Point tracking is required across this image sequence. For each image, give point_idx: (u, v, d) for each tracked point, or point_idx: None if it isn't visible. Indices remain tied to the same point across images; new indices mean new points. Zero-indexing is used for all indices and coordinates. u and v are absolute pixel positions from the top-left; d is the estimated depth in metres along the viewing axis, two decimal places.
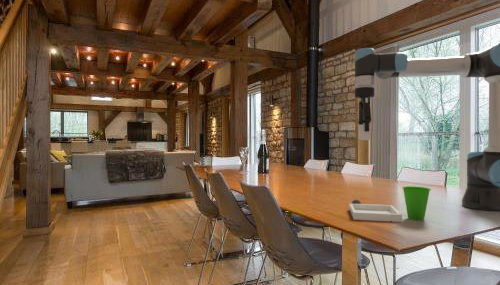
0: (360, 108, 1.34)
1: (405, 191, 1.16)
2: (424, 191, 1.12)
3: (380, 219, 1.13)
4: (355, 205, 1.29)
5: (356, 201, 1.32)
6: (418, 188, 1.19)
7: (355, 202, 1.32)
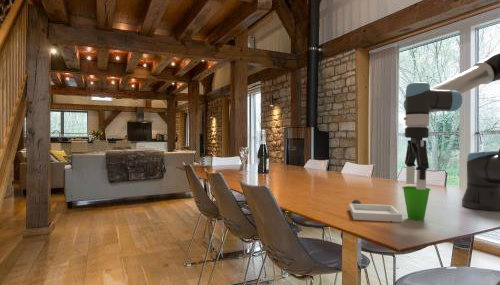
0: (410, 149, 1.18)
1: (405, 191, 1.16)
2: (424, 191, 1.12)
3: (380, 219, 1.13)
4: (355, 205, 1.29)
5: (356, 201, 1.32)
6: None
7: (355, 202, 1.32)
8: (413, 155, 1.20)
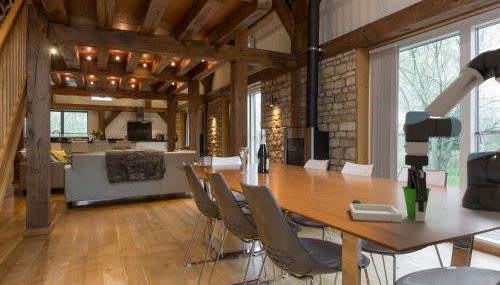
0: (411, 177, 1.18)
1: (405, 191, 1.16)
2: None
3: (380, 219, 1.13)
4: (355, 205, 1.29)
5: (356, 201, 1.32)
6: None
7: (355, 202, 1.32)
8: (414, 183, 1.19)
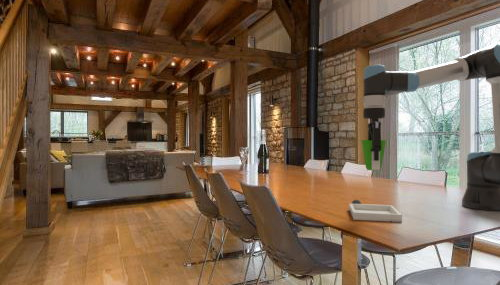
0: (369, 130, 1.23)
1: (363, 143, 1.21)
2: None
3: (380, 219, 1.13)
4: (355, 205, 1.29)
5: (356, 201, 1.32)
6: None
7: (355, 202, 1.32)
8: None
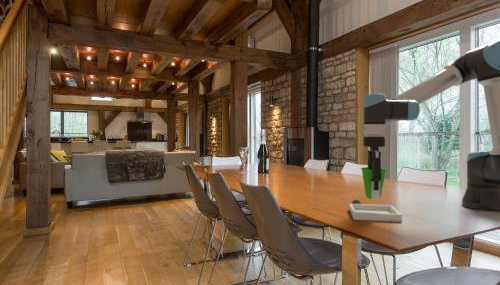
0: (369, 158, 1.23)
1: (363, 171, 1.21)
2: None
3: (380, 219, 1.13)
4: (355, 205, 1.29)
5: (356, 201, 1.32)
6: None
7: (355, 202, 1.32)
8: None
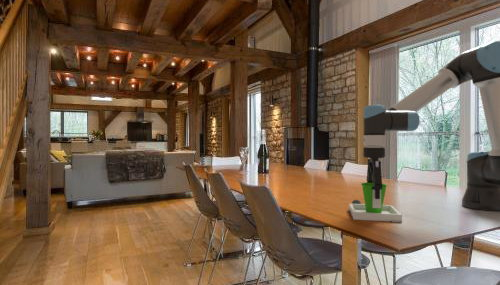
0: (369, 168, 1.23)
1: (363, 187, 1.21)
2: None
3: (380, 219, 1.13)
4: (355, 205, 1.29)
5: (356, 201, 1.32)
6: None
7: (355, 202, 1.32)
8: (372, 173, 1.25)
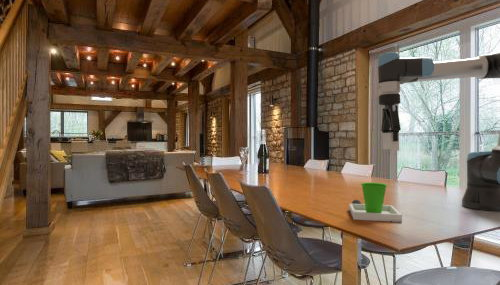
0: (385, 116, 1.26)
1: (363, 187, 1.21)
2: (380, 187, 1.17)
3: (380, 219, 1.13)
4: (355, 205, 1.29)
5: (356, 201, 1.32)
6: (377, 185, 1.24)
7: (355, 202, 1.32)
8: (388, 121, 1.28)
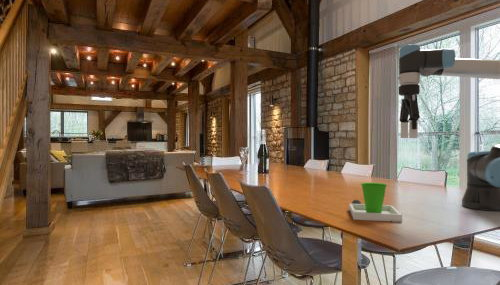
0: (404, 106, 1.32)
1: (363, 187, 1.21)
2: (380, 187, 1.17)
3: (380, 219, 1.13)
4: (355, 205, 1.29)
5: (356, 201, 1.32)
6: (376, 185, 1.24)
7: (355, 202, 1.32)
8: (406, 111, 1.34)
